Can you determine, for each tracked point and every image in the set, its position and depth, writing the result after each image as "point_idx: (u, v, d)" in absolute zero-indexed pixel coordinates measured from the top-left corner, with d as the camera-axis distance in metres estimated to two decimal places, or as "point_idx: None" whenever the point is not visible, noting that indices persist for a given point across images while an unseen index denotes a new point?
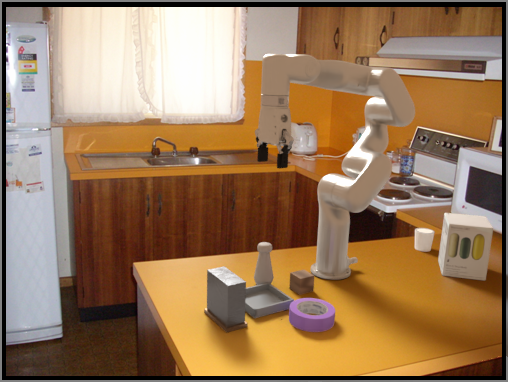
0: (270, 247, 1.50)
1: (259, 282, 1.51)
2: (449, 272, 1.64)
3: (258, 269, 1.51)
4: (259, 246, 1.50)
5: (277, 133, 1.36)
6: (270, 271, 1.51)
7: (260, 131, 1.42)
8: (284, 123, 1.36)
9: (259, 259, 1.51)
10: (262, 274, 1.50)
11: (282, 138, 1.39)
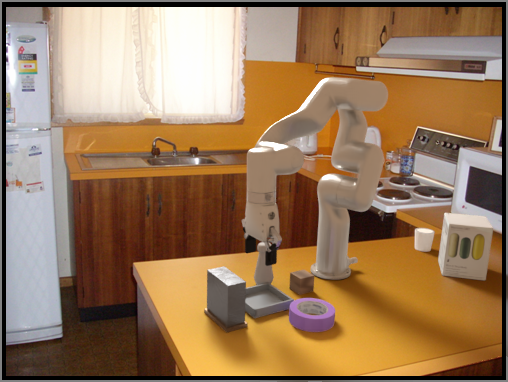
0: None
1: (259, 282, 1.51)
2: (449, 272, 1.64)
3: (258, 269, 1.51)
4: (259, 246, 1.50)
5: (264, 231, 1.30)
6: (270, 271, 1.51)
7: (247, 224, 1.37)
8: (271, 220, 1.31)
9: (259, 259, 1.51)
10: (262, 274, 1.50)
11: (270, 234, 1.33)
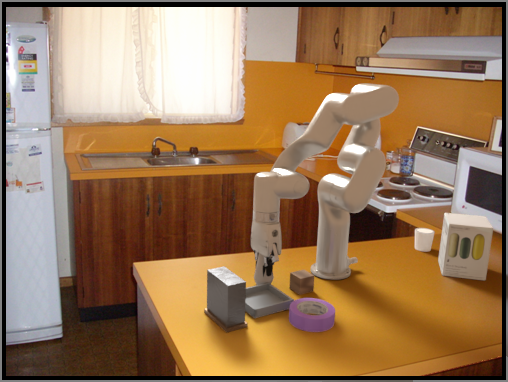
0: None
1: (259, 282, 1.51)
2: (449, 272, 1.64)
3: (258, 269, 1.51)
4: None
5: (268, 247, 1.46)
6: None
7: (252, 240, 1.52)
8: (275, 237, 1.46)
9: (259, 259, 1.51)
10: (262, 274, 1.50)
11: None
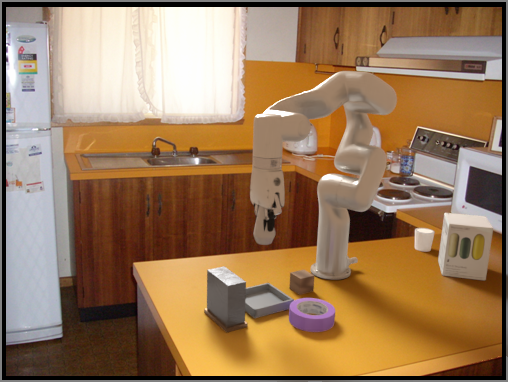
0: None
1: (259, 238, 1.35)
2: (449, 272, 1.64)
3: (258, 224, 1.35)
4: None
5: (269, 197, 1.30)
6: None
7: (252, 192, 1.36)
8: (277, 186, 1.30)
9: (259, 212, 1.35)
10: (263, 229, 1.34)
11: None
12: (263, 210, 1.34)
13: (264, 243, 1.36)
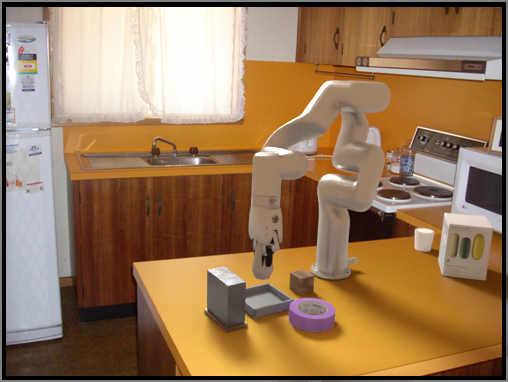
0: None
1: (257, 274, 1.37)
2: (449, 272, 1.64)
3: (256, 259, 1.37)
4: None
5: (268, 234, 1.32)
6: None
7: (251, 228, 1.38)
8: (275, 224, 1.32)
9: (257, 248, 1.37)
10: (261, 265, 1.37)
11: None
12: (261, 246, 1.36)
13: (262, 278, 1.38)
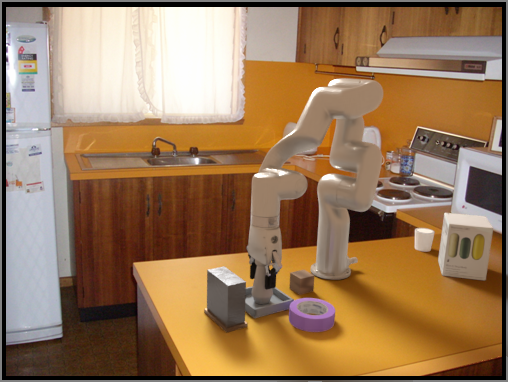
0: None
1: (257, 298, 1.39)
2: (449, 272, 1.64)
3: (256, 284, 1.39)
4: None
5: (267, 254, 1.33)
6: None
7: (250, 247, 1.40)
8: (274, 244, 1.33)
9: (257, 273, 1.39)
10: (260, 290, 1.39)
11: None
12: (261, 271, 1.39)
13: (262, 302, 1.40)
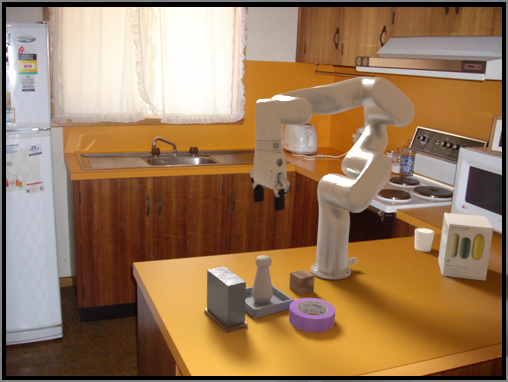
0: (269, 261, 1.38)
1: (257, 299, 1.39)
2: (449, 272, 1.64)
3: (256, 284, 1.39)
4: (257, 260, 1.38)
5: (273, 177, 1.38)
6: (269, 287, 1.39)
7: (255, 173, 1.44)
8: (279, 167, 1.38)
9: (257, 274, 1.39)
10: (261, 290, 1.39)
11: (278, 181, 1.41)
12: (261, 272, 1.38)
13: (262, 303, 1.40)
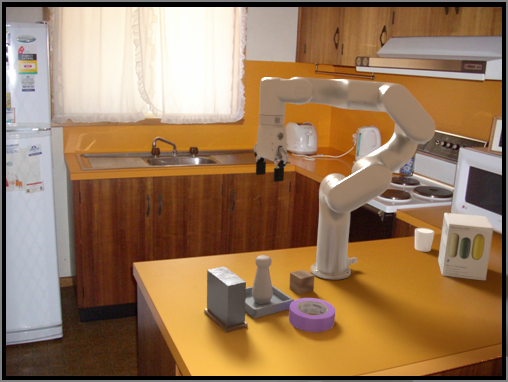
0: (269, 261, 1.38)
1: (257, 299, 1.39)
2: (449, 272, 1.64)
3: (256, 284, 1.39)
4: (257, 260, 1.38)
5: (274, 149, 1.49)
6: (269, 287, 1.39)
7: (258, 147, 1.55)
8: (280, 140, 1.49)
9: (257, 274, 1.39)
10: (261, 290, 1.39)
11: (278, 154, 1.52)
12: (261, 272, 1.38)
13: (262, 303, 1.40)
